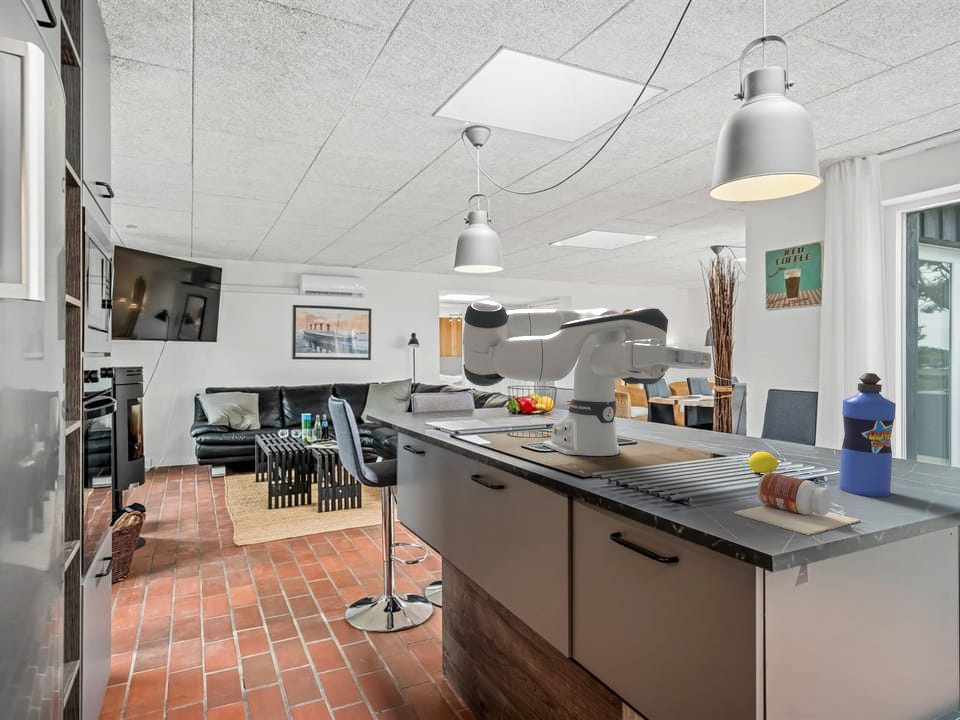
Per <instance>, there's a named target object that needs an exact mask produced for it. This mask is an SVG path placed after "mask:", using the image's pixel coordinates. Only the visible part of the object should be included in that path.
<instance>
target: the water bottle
mask: <svg viewBox="0 0 960 720" xmlns="http://www.w3.org/2000/svg"><path fill="white" fill-rule="evenodd" d="M858 380H860V381H861V382H859V383H857V391H858V392H857V393H856V394H855V395H852V396H850V397H848V398H845V399H843V400H842V410H841V411H842V412H841V414H842V416H843V417H842V419H843V428H844V429H843V431H844V435H843V440H842V445H841V453H840V468H839V469H840V472H839V473H840V474H839V489H840V490H841V491H843V492H845V493H849V494H853V495H857V496H861V497H862V496H864V497H871V498H887V497H890V496H891V487H892V486H891V485H892V469H893V468H892V466H893V465H892V464H893V452H892V442H891V437H892V433H893V426H894V421H895V420H896V406H897V405H896V403H895V402H894V401H892V400H890V399H888V398H886V397H884V396H883V395H881V393H882V386H883V385H882V383H881V384H879V382H880V381H881V380H882V378H881V377H879V375H878V374H876V373H873V372H871V373H870V372H865V373H863V375H861V376H860V377H859V378H858Z"/></svg>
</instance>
